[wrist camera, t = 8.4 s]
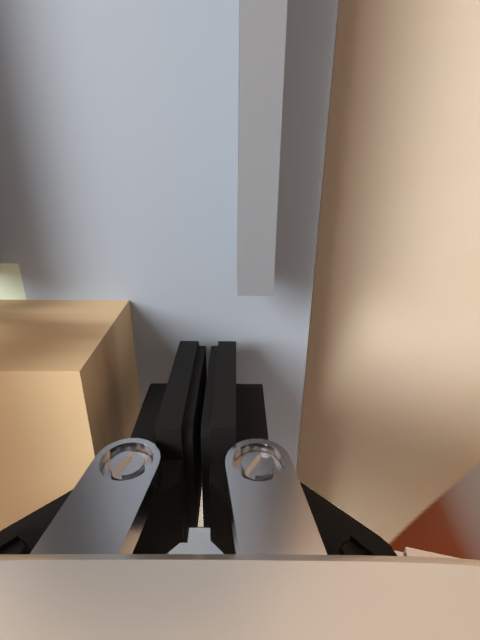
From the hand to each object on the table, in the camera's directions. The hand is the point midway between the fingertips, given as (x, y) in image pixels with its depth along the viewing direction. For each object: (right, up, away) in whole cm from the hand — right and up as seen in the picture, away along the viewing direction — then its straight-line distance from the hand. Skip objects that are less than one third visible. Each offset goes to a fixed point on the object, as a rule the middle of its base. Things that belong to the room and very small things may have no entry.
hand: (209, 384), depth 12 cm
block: (-5, 0, +1) cm, 5 cm away
